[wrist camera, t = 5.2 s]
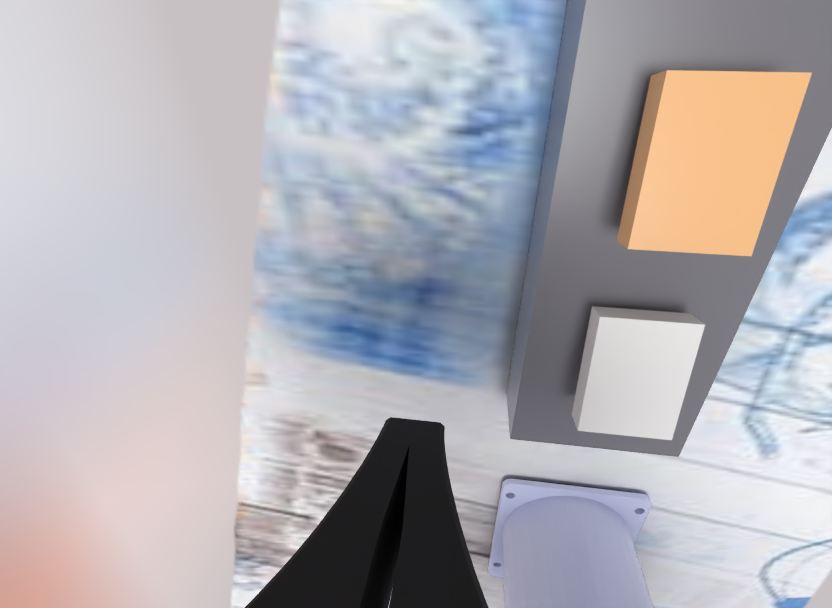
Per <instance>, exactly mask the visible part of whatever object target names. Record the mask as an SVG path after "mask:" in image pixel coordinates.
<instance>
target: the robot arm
mask: <svg viewBox="0 0 832 608" xmlns="http://www.w3.org/2000/svg"><path fill="white" fill-rule="evenodd" d="M651 505H652V503H651V500H650V498H649V496H647V495H645V494H640V493H631V492H623V491H614V490H605V489H597V488H588V487H580V486H571V485H562V484H554V483H545V482H537V481H528V480H519V479H506V480H505V481H503V483H502V488H501V494H500V499H499V505H498V511H497V517H496V523H495V528H494V534H493V540H492V546H491V552H490V557H489V563H488V573H489V575H491V576H493V577H498V578H503V579H504V602H505V608H654V607H653V604H652V601H651V598H650V595H649V591H648V588H647V585H646V582H645V579H644V576H643V572H642V569H641V566H640V563H639V560H638V557H637V554H636V550H635V547H634V543H635V541H636V538H637V536H638V534H639V532H640V530H641V528H642V525H643V523H644V521H645V519H646V517H647V514H648V512H649V510H650V508H651ZM392 588H393V589H392ZM391 592H392V594H391ZM390 597H391V600H390ZM389 601H390V605H389ZM388 605H389V608H488V606H487V603H486V600H485V598H484V595H483V592H482V589H481V587H480V584H479V581H478V578H477V576H476V573H475V570H474V567H473V564H472V561H471V558H470V554H469V551H468V548H467V545H466V542H465V538H464V535H463V531H462V528H461V525H460V521H459V517H458V513H457V510H456V505H455V501H454V497H453V493H452V488H451V484H450V479H449V474H448V468H447V461H446V454H445V444H444V426H443V425H442V424H441V423H439V422H429V421H420V420H411V419H401V418H392V417H391V418H389V419H388V420H386V422H385V424H384V426H383V428H382V430H381V432H380V434H379V436H378V438H377V440H376V441H375V443H374V445H373V447H372V448H371V450H370V452H369V453H368V455H367V457H366V458H365V460H364V461H363V463H362V465H361V466H360V468H359V469H358V471H357V472H356V474H355V475H354V477H353V478H352V480H351V481H350V483H349V484H348V486H347V487H346V489H345V490H344V491H343V493H342V494H341V496H340V497H339V498H338V500H337V501H336V502H335V504H334V505H333V506H332V508H331V509H330V510H329V512H328V513H327V514H326V516H325V517H324V518H323V520H322V521H321V522H320V524H319V525H318V526H317V527H316V529H315V530H314V531H313V532H312V534H311V535H310V536H309V537H308V539H307V540H306V541H305V542H304V543H303V545H302V546H301V547H300V548H299V549H298V550H297V552H296V553H295V554H294V555H293V556H292V557H291V559H290V560H289V561H288V562H287V563H286V564H285V565H284V567H283V568H282V569H281V570H280V571H279V572H278V573H277V574H276V575H275V576H274V577H273V578H272V580H271V581H270V582H269V583H268V584H267V585H266V586H265V587H264V588H263V589H262V590H261V591H260V592H259V594H258V595H257V596H256V597H255V598H254V599H253V600H252V601H251V602H250V603H249V604H248V605H247V606H246V607H245V608H388Z"/></svg>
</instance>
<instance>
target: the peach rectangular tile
mask: <svg viewBox="0 0 832 608" xmlns="http://www.w3.org/2000/svg"><path fill="white" fill-rule="evenodd" d="M811 75H812V73H808V72H746V71H684V70H666V71H663V72H660V73H658V74H655V75H652V76H651V78H650V83H649V88H648V93H647V97H646V102H645V107H644V112H643V117H642V122H641V126H640V131H639V136H638V141H637V146H636V150H635V155H634V160H633V165H632V170H631V175H630V179H629V184H628V189H627V194H626V199H625V203H624V208H623V213H622V218H621V223H620V228H619V232H618V237H617V242H619V243H620V244H621V245H623V246H624V247H626V248H627V249H634V250H651V251H668V252H685V253H702V254H719V255H736V256H752V253H753V250H754V247H755V244H756V241H757V238H758V235H759V232H760V229H761V226H762V223H763V220H764V217H765V214H766V211H767V208H768V205H769V202H770V199H771V196H772V193H773V190H774V187H775V184H776V181H777V177H778V174H779V171H780V168H781V165H782V162H783V159H784V156H785V153H786V150H787V147H788V144H789V141H790V138H791V135H792V132H793V129H794V126H795V123H796V120H797V117H798V114H799V111H800V108H801V105H802V102H803V99H804V96H805V93H806V90H807V87H808V84H809V81H810V78H811Z"/></svg>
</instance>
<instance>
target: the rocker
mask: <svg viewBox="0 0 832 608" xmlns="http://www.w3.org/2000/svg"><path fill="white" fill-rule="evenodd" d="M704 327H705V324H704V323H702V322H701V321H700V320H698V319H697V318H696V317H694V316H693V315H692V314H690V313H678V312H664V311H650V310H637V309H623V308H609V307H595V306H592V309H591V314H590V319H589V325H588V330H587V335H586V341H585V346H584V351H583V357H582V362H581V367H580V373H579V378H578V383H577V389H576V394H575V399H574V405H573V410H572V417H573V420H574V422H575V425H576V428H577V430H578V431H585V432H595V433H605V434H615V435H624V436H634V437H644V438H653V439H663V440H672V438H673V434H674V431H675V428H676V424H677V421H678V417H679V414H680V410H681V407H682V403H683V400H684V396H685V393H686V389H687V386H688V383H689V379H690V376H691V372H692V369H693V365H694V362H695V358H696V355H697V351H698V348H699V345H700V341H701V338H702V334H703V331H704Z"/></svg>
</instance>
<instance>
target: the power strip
mask: <svg viewBox="0 0 832 608" xmlns="http://www.w3.org/2000/svg"><path fill="white" fill-rule="evenodd" d="M666 70H684V71H746V72H808V73H812V75H811V78H810V81H809V84H808V87H807V90H806V93H805V96H804V99H803V102H802V105H801V108H800V111H799V114H798V117H797V120H796V123H795V126H794V129H793V132H792V135H791V138H790V141H789V144H788V147H787V150H786V153H785V156H784V159H783V162H782V165H781V168H780V171H779V174H778V177H777V181H776V184H775V187H774V190H773V193H772V196H771V199H770V202H769V205H768V208H767V211H766V214H765V217H764V220H763V223H762V226H761V229H760V232H759V235H758V238H757V241H756V244H755V247H754V250H753V253H752V256H736V255H719V254H702V253H685V252H668V251H651V250H634V249H627V248H626V247H624V246H623V245H621V244H620V243H619V242H617V237H618V232H619V228H620V223H621V218H622V213H623V208H624V203H625V199H626V194H627V189H628V184H629V179H630V175H631V170H632V165H633V160H634V155H635V150H636V146H637V141H638V136H639V131H640V126H641V122H642V117H643V112H644V107H645V102H646V97H647V93H648V88H649V83H650V78H651V76H652V75H655V74H658V73H660V72H663V71H666ZM831 128H832V0H568V1H567V7H566V14H565V20H564V26H563V33H562V39H561V46H560V52H559V59H558V65H557V72H556V78H555V84H554V91H553V97H552V104H551V110H550V117H549V123H548V130H547V136H546V142H545V149H544V155H543V162H542V168H541V175H540V181H539V187H538V194H537V200H536V207H535V213H534V220H533V226H532V233H531V239H530V245H529V252H528V258H527V265H526V271H525V278H524V284H523V290H522V297H521V303H520V310H519V316H518V323H517V329H516V336H515V342H514V348H513V355H512V361H511V368H510V374H509V381H508V387H507V404H508V416H509V429H510V439H517V440H527V441H536V442H545V443H555V444H564V445H574V446H583V447H592V448H602V449H611V450H620V451H630V452H639V453H649V454H658V455H667V456H677V457H679V455H680V452H681V450H682V448H683V446H684V444H685V442H686V440H687V437H688V435H689V433H690V431H691V429H692V427H693V425H694V422H695V420H696V418H697V416H698V414H699V412H700V409H701V407H702V405H703V403H704V401H705V399H706V397H707V394H708V392H709V390H710V388H711V386H712V384H713V382H714V379H715V377H716V375H717V373H718V371H719V369H720V366H721V364H722V362H723V360H724V358H725V356H726V354H727V351H728V349H729V347H730V345H731V343H732V341H733V338H734V336H735V334H736V332H737V330H738V328H739V326H740V323H741V321H742V319H743V317H744V315H745V313H746V311H747V308H748V306H749V304H750V302H751V300H752V298H753V295H754V293H755V291H756V289H757V287H758V285H759V283H760V280H761V278H762V276H763V274H764V272H765V270H766V268H767V265H768V263H769V261H770V259H771V257H772V255H773V252H774V250H775V248H776V246H777V244H778V242H779V240H780V237H781V235H782V233H783V231H784V229H785V227H786V225H787V222H788V220H789V218H790V216H791V214H792V212H793V209H794V207H795V205H796V203H797V201H798V199H799V197H800V194H801V192H802V190H803V188H804V186H805V184H806V182H807V179H808V177H809V175H810V173H811V171H812V169H813V166H814V164H815V162H816V160H817V158H818V156H819V154H820V151H821V149H822V147H823V145H824V143H825V141H826V139H827V136H828V134H829V132H830V130H831ZM592 306H595V307H609V308H623V309H637V310H650V311H664V312H678V313H690V314H692V315H693V316H694V317H696V318H697V319H698V320H700V321H701V322H702V323H704V324H705V327H704V331H703V334H702V338H701V341H700V345H699V348H698V351H697V355H696V358H695V362H694V365H693V369H692V372H691V376H690V379H689V383H688V386H687V389H686V393H685V396H684V400H683V403H682V407H681V410H680V414H679V417H678V421H677V424H676V428H675V431H674V434H673V438H672V440H663V439H653V438H644V437H634V436H624V435H615V434H605V433H595V432H585V431H578V430H577V428H576V425H575V422H574V420H573V417H572V410H573V405H574V399H575V394H576V389H577V383H578V378H579V373H580V367H581V362H582V357H583V351H584V346H585V341H586V335H587V330H588V325H589V319H590V314H591V309H592Z"/></svg>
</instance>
